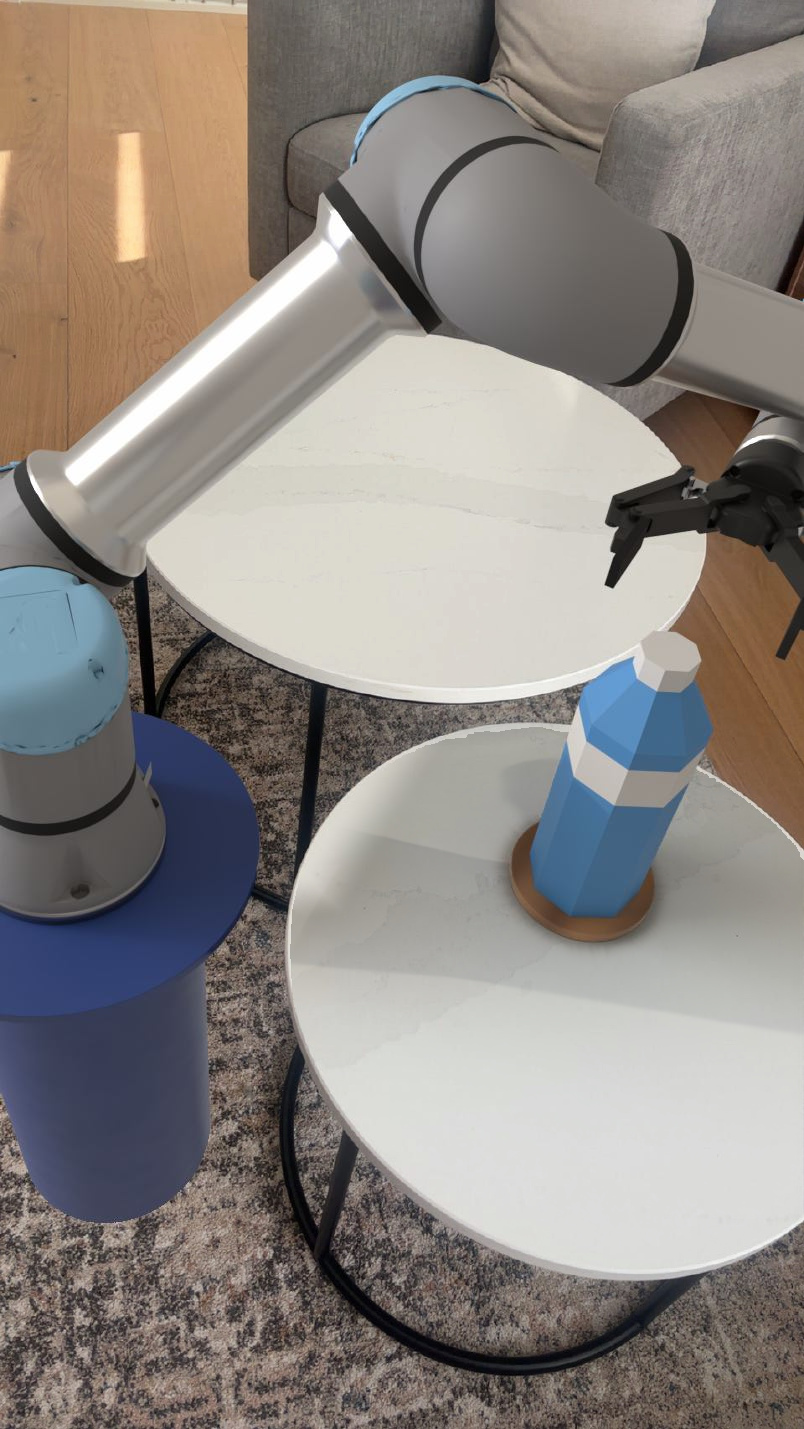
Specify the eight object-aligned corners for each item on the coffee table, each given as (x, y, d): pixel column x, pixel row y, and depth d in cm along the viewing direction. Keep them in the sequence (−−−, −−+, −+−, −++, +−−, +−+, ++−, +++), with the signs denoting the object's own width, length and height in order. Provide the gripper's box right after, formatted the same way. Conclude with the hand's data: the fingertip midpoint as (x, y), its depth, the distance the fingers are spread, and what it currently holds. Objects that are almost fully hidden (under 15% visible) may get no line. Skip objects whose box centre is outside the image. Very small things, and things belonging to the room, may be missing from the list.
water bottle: (649, 850, 92) (749, 630, 74) (626, 937, 86) (730, 719, 68) (543, 813, 94) (617, 589, 76) (514, 896, 87) (586, 672, 70)
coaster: (488, 904, 88) (490, 897, 87) (535, 803, 96) (537, 795, 95) (630, 965, 85) (634, 958, 85) (666, 855, 93) (669, 848, 93)
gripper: (893, 567, 94) (842, 713, 80) (625, 464, 100) (535, 583, 86) (934, 494, 89) (886, 637, 75) (648, 391, 95) (555, 504, 81)
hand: (697, 608), depth 81 cm, fingers open, 13 cm apart
